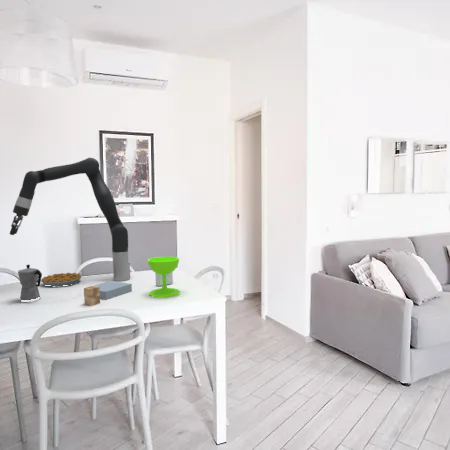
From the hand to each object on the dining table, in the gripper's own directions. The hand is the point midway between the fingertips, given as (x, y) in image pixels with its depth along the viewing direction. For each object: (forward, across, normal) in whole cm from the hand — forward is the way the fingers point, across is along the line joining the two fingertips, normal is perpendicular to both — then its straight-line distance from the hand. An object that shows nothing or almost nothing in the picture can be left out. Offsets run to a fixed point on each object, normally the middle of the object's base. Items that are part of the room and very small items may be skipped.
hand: (12, 234), depth 215 cm
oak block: (+16, -45, -48) cm, 68 cm away
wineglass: (+4, -41, -81) cm, 91 cm away
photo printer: (+2, -22, -84) cm, 87 cm away
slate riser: (+13, -29, -55) cm, 64 cm away
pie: (+22, +7, -32) cm, 40 cm away
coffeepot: (+26, -26, -21) cm, 42 cm away
